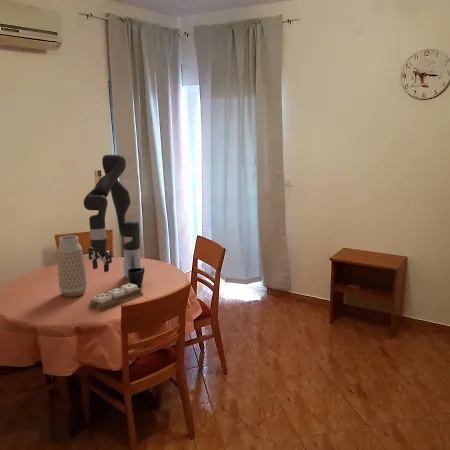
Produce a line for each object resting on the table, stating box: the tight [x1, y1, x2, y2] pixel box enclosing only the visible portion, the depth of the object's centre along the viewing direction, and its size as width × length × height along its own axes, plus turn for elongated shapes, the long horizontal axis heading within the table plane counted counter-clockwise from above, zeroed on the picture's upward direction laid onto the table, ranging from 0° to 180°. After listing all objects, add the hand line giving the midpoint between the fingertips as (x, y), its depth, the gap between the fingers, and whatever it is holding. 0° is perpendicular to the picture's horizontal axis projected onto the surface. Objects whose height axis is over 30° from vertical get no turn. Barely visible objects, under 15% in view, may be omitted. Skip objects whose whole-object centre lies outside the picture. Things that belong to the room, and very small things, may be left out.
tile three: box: [93, 292, 112, 304], centre depth 206 cm, size 6×6×3 cm
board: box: [88, 287, 144, 312], centre depth 213 cm, size 11×26×3 cm, turn 144°
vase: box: [57, 235, 88, 298], centre depth 219 cm, size 14×14×31 cm
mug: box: [127, 266, 146, 289], centre depth 233 cm, size 8×12×10 cm
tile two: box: [107, 287, 125, 298], centre depth 212 cm, size 6×6×3 cm
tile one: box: [120, 282, 138, 293], centre depth 219 cm, size 6×6×3 cm
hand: (100, 270), depth 203 cm, fingers open, 8 cm apart
